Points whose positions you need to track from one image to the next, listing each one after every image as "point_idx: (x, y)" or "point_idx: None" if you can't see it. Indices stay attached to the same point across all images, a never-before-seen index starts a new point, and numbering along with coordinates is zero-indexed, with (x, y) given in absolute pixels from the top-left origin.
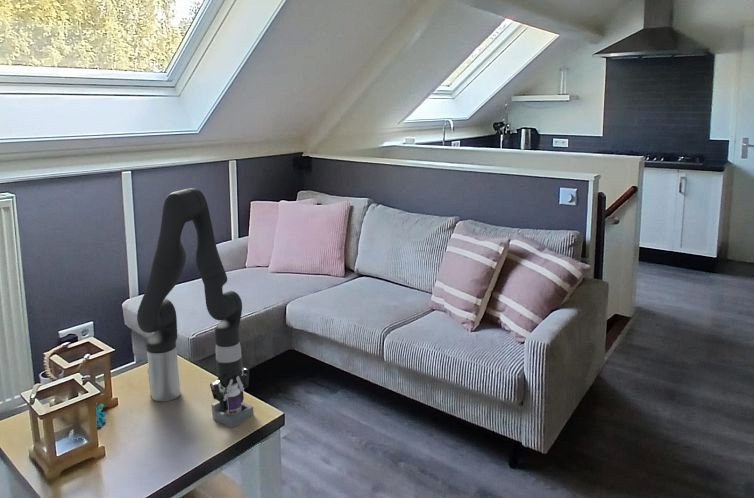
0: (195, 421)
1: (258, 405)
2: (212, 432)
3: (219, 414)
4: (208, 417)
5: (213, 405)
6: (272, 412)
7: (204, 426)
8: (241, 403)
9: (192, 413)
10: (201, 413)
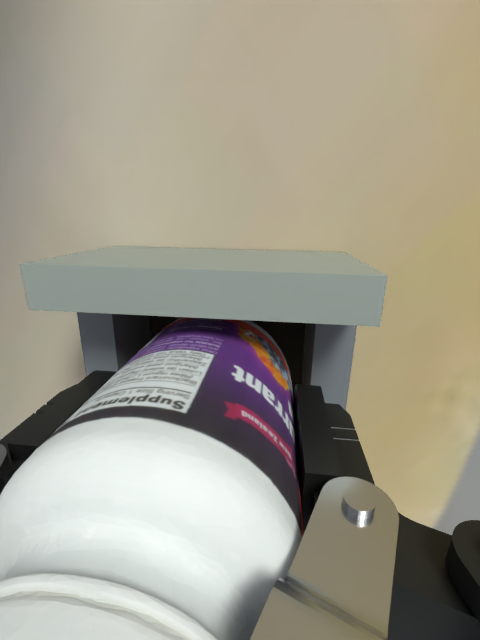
0: (3, 161)
1: (461, 390)
2: (27, 375)
3: (88, 354)
4: (104, 199)
5: (28, 299)
6: (419, 518)
7: (22, 279)
8: (324, 394)
9: (41, 4)
10: (97, 85)
